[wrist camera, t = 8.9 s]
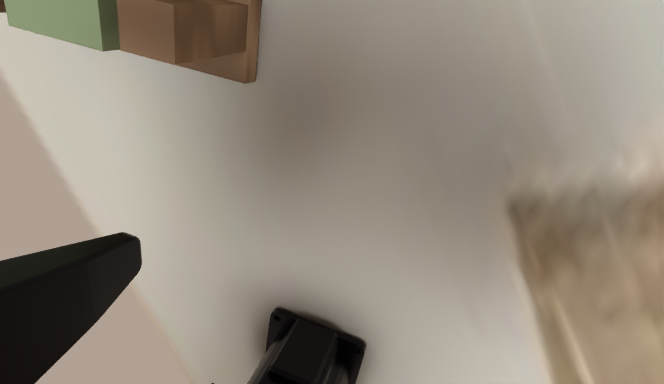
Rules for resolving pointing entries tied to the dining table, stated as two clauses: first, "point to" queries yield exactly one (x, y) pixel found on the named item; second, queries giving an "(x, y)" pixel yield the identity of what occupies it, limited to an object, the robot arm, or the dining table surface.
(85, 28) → the bottle
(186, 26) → the cradle
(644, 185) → the dining table surface
